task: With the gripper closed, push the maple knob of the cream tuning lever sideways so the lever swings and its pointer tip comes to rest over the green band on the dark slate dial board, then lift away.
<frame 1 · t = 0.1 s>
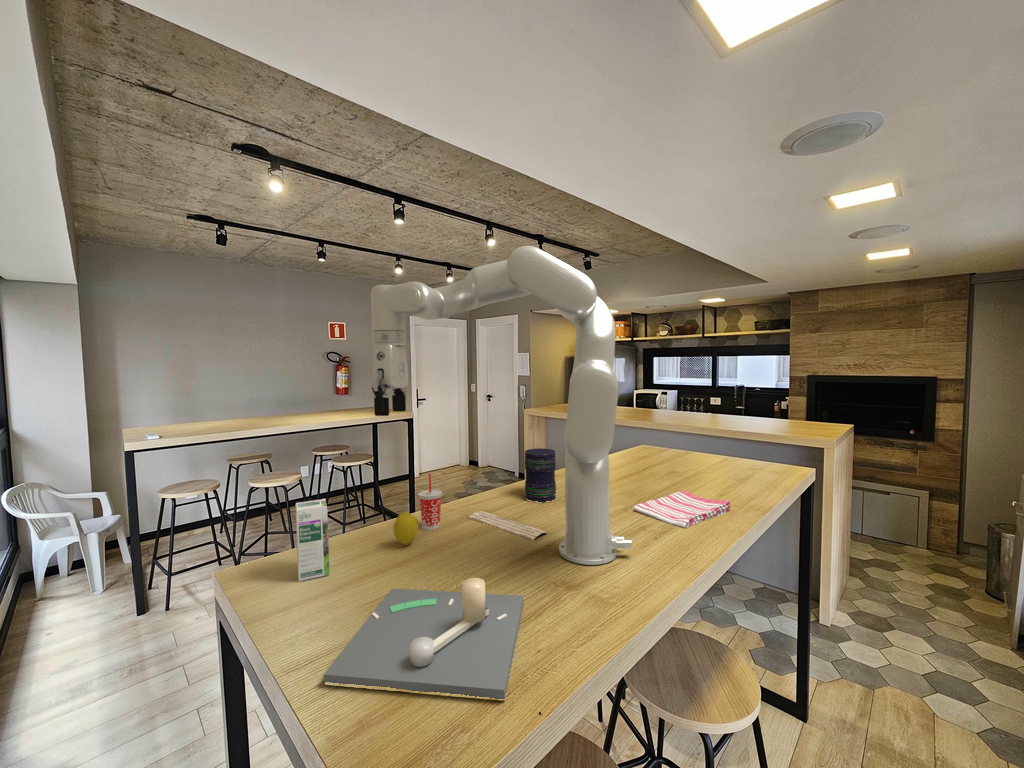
hand: (391, 413, 100), 31 cm above the table, tool pointing down, fingers open, 9 cm apart
storage jar: (540, 498, 135), on the table
dish towel: (682, 513, 122), on the table
syrup box: (313, 573, 88), on the table
beverage cup: (430, 527, 112), on the table
dial board: (437, 639, 65), on the table
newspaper: (508, 528, 113), on the table
tuning lever: (452, 616, 63), point 5 cm above the table, hinge at 0.0°
lemon: (406, 546, 101), on the table
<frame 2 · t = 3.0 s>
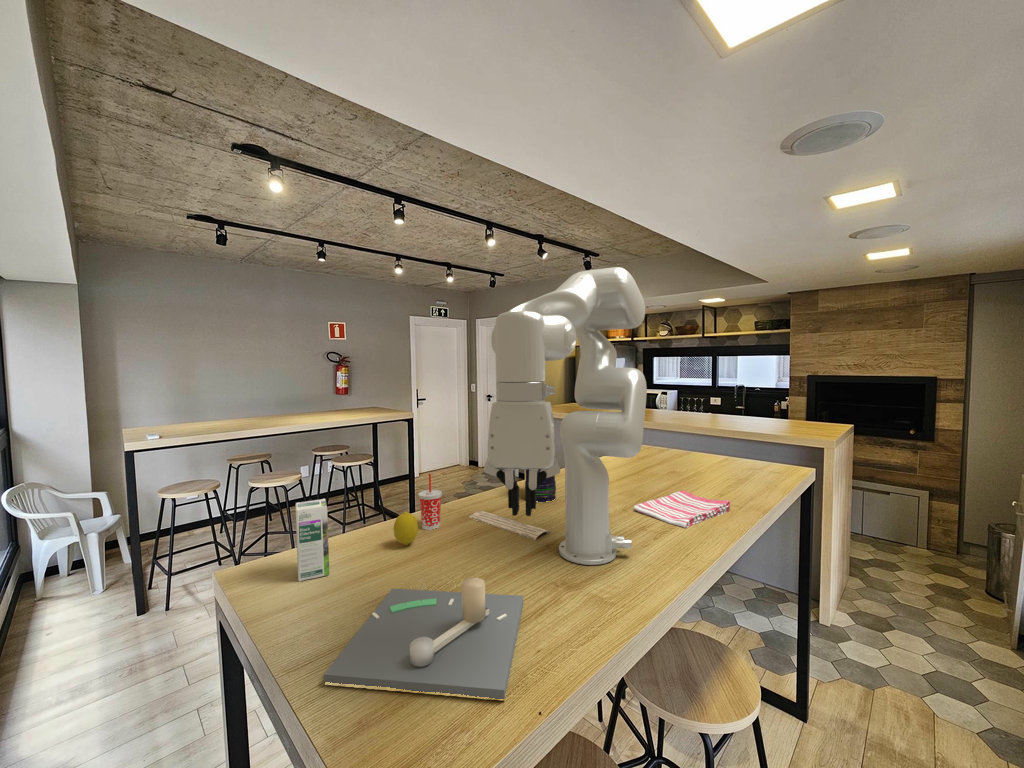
hand: (522, 512, 66), 19 cm above the table, tool pointing down, fingers closed
nothing on the table moved.
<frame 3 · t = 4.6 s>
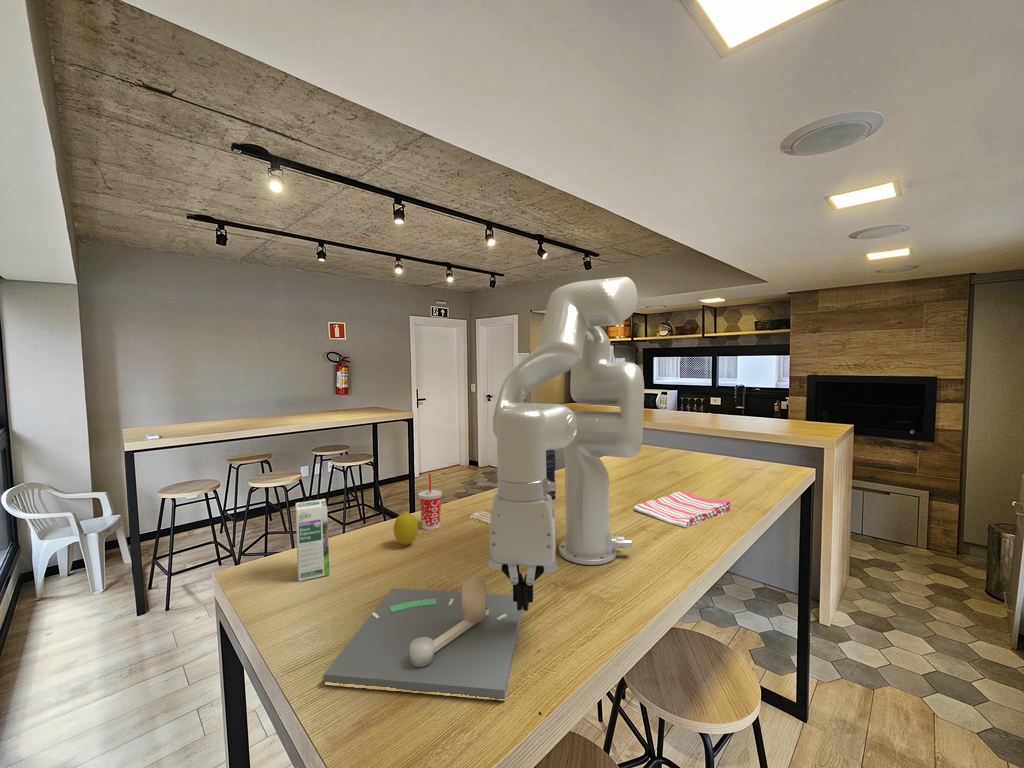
hand: (523, 605, 66), 4 cm above the table, tool pointing down, fingers closed
nothing on the table moved.
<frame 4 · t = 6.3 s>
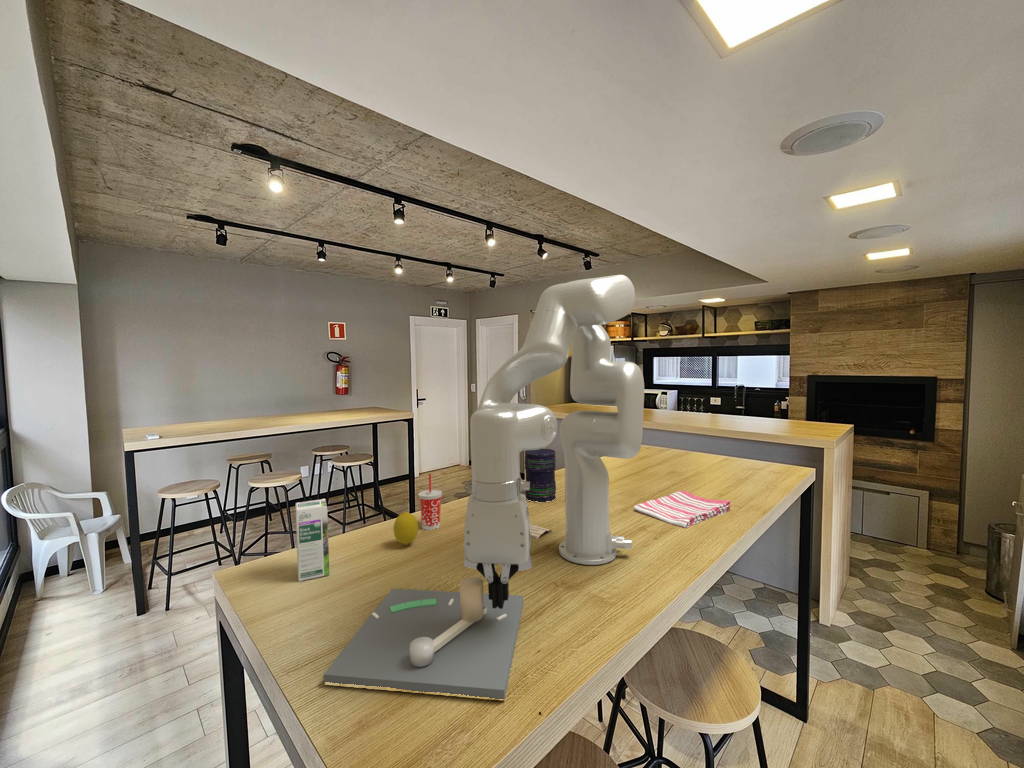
hand: (498, 603, 67), 4 cm above the table, tool pointing down, fingers closed
tuning lever: (451, 615, 63), point 5 cm above the table, hinge at 2.3°, touching gripper
everything else where it was.
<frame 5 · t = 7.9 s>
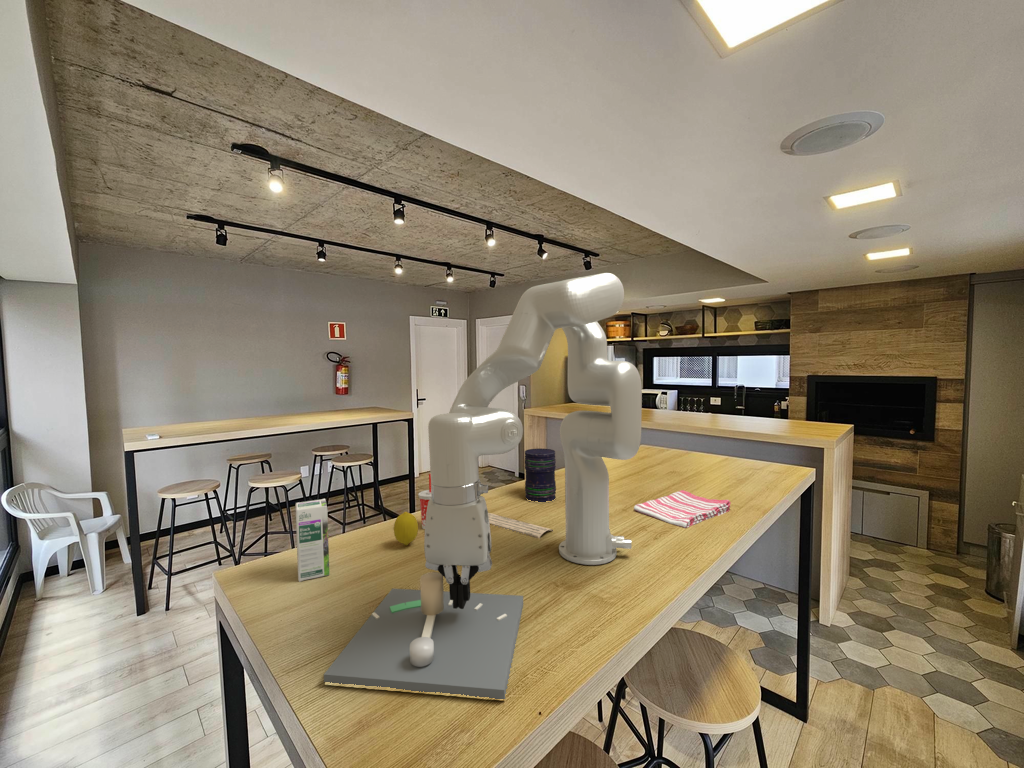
hand: (460, 603, 69), 4 cm above the table, tool pointing down, fingers closed
tuning lever: (427, 612, 64), point 5 cm above the table, hinge at 40.3°, touching gripper
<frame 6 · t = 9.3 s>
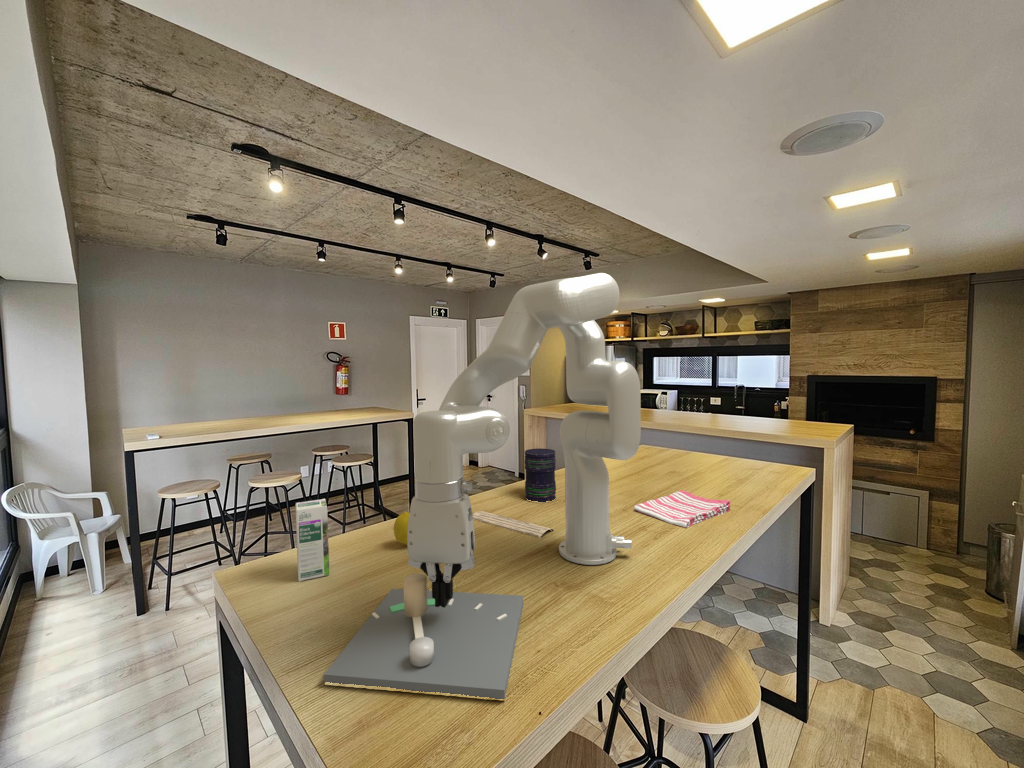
hand: (442, 602, 68), 4 cm above the table, tool pointing down, fingers closed
tuning lever: (417, 613, 64), point 5 cm above the table, hinge at 54.6°, touching gripper
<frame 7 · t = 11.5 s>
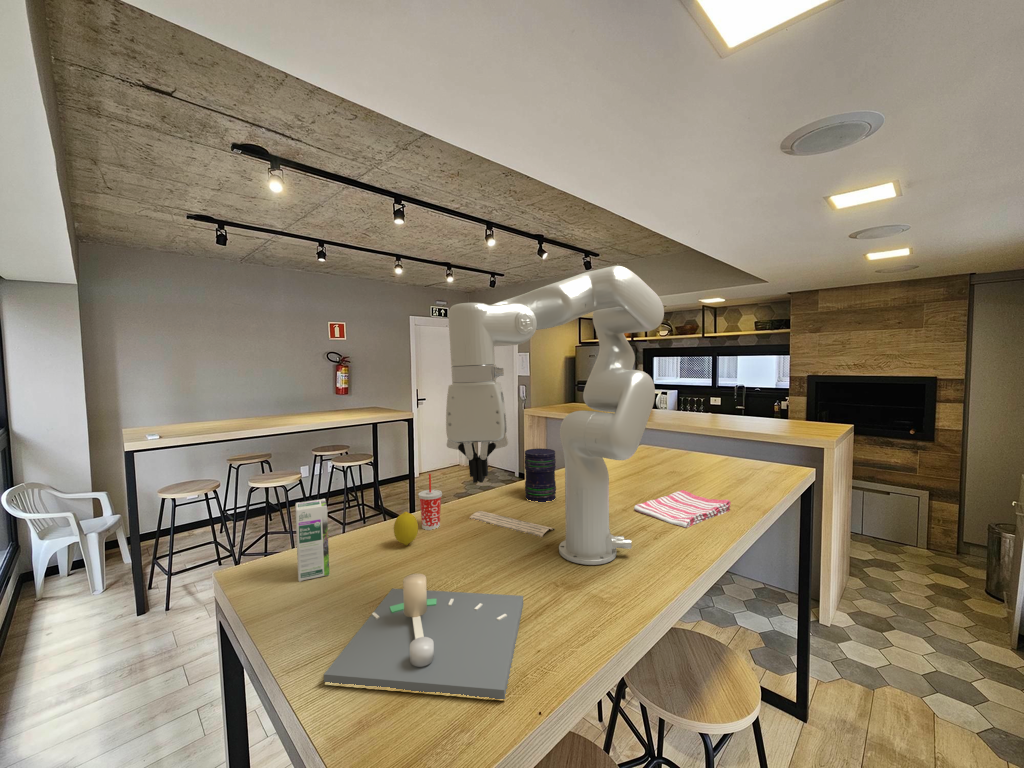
hand: (479, 480, 75), 22 cm above the table, tool pointing down, fingers closed
tuning lever: (417, 613, 64), point 5 cm above the table, hinge at 55.0°
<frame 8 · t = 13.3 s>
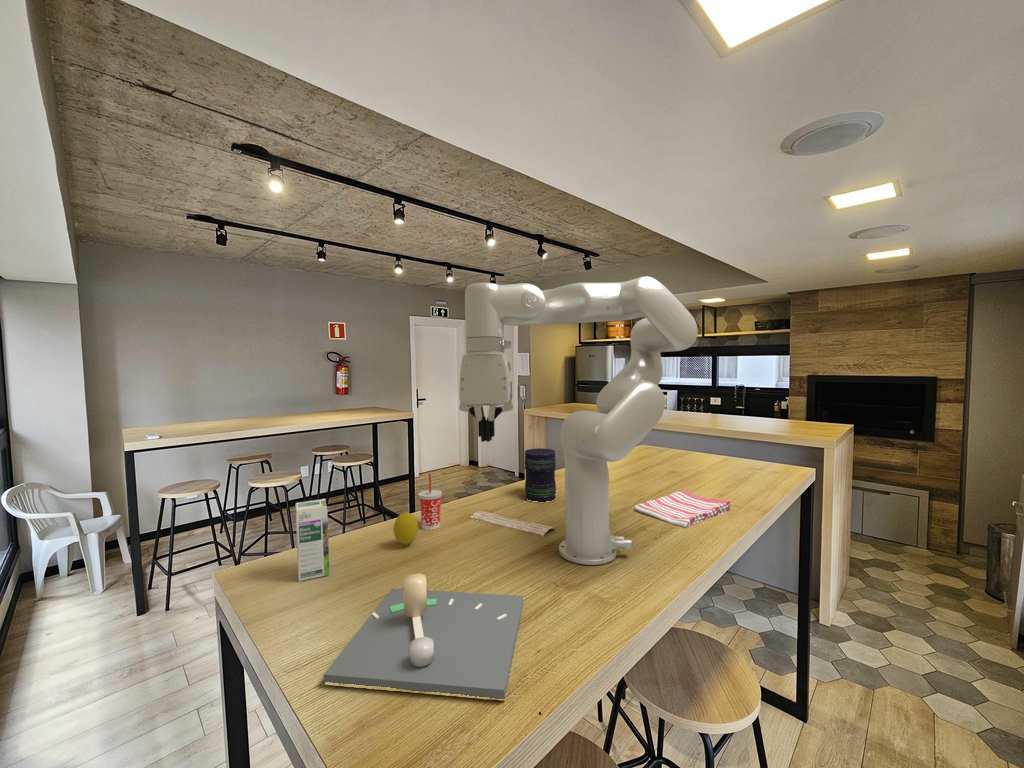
hand: (486, 440, 85), 27 cm above the table, tool pointing down, fingers closed
at the end: tuning lever at +55° (first picture: +0°) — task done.
